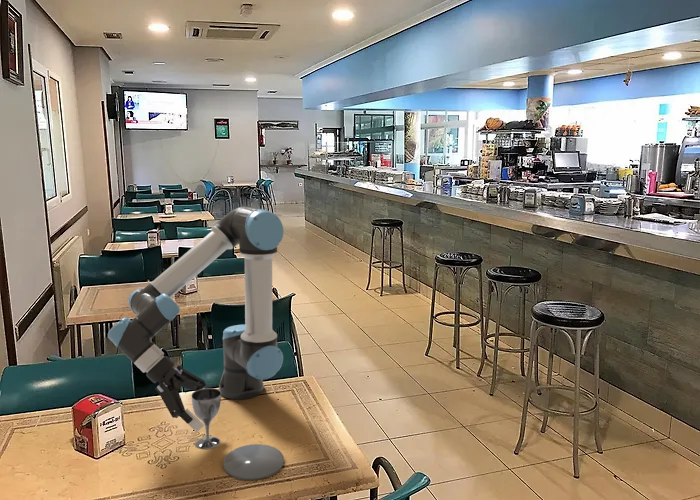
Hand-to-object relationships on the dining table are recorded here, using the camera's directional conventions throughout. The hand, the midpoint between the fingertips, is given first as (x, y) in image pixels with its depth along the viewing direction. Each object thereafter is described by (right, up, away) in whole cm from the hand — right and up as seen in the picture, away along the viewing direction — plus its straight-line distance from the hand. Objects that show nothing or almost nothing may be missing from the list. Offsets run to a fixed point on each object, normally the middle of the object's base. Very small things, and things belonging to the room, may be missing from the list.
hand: (208, 417), depth 164 cm
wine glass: (-1, -8, +2) cm, 8 cm away
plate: (+14, -10, -8) cm, 19 cm away
